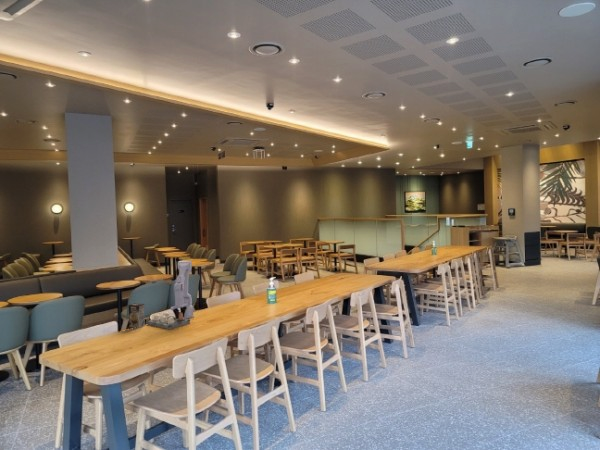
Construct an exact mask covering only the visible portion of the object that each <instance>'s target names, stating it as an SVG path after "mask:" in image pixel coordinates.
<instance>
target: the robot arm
mask: <svg viewBox="0 0 600 450" xmlns="http://www.w3.org/2000/svg"><path fill="white" fill-rule="evenodd" d="M192 267H193V266H192V261H191V260H179V261H177V270H178V272H179V273H178V275H177V276H176V279H175V283H174V284H173V291H174V293H173V294H174V298H175V299H174V301H175V304H174V305H173V306H171V307H170V311H172V312H173V314H174V317H176V319H178V318H179V312H182V313H183V319H191V318H193V317H195V315H194V306H193V300H192V294H190V293H189V280H190V279H189V277H190V272H192Z"/></svg>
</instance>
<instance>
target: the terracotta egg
mask: <svg viewBox="0 0 600 450" xmlns="http://www.w3.org/2000/svg"><path fill="white" fill-rule="evenodd" d="M177 320H178V321H180V320H183V313H182V312H180V311H179V318H178V319H177Z"/></svg>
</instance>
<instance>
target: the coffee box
mask: <svg viewBox="0 0 600 450" xmlns="http://www.w3.org/2000/svg"><path fill="white" fill-rule="evenodd" d="M145 322H146V321H145V303H136V302H134V303H131V304H128V325H129V328H137V327H138V328H139V329H140V328H142V327H145V326H146V323H145ZM138 328H137V329H138Z"/></svg>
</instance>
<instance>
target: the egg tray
mask: <svg viewBox="0 0 600 450" xmlns="http://www.w3.org/2000/svg"><path fill="white" fill-rule="evenodd" d="M189 324H191V320H190V319H189V318H187V319H183V320H180V321H178V320H177V319H176V317H175V316H171V315H170V313H169V312H168V311H165V312H163V314H162V316H160V314H158V313H157V314H156V313H155V315H154V316H153V319H149V320H147V321H146V325H149V326H152V327H158V328H161V329H166V330H173V329H176V328H179V327H182V326H183V327H184V326H186V325H189Z"/></svg>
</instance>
